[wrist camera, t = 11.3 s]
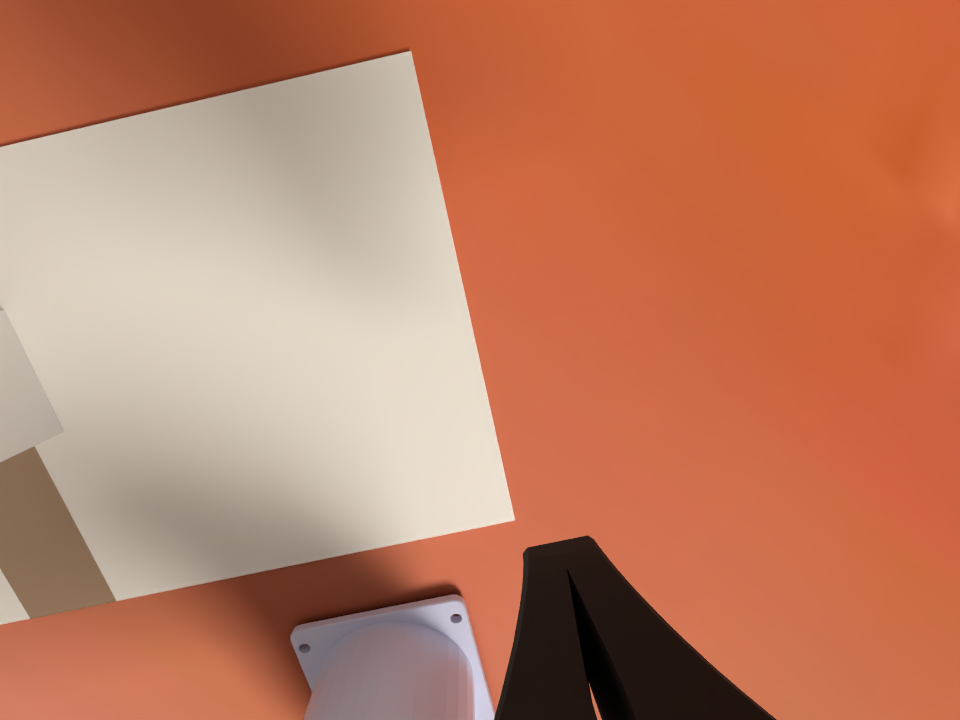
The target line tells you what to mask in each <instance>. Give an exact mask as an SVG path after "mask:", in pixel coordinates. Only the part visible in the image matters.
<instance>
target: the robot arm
mask: <svg viewBox="0 0 960 720" xmlns="http://www.w3.org/2000/svg"><path fill="white" fill-rule="evenodd" d="M523 561H524V567H523V585H522V594H521V602H520V609H519V614H518V620H517V625H516V631H515V637H514V642H513V647H512V652H511V656H510V660H509V664H508V668H507V672H506V676H505V680H504V684H503V688H502V692H501V696H500V700H499V704H498V707H497V711H496V714H495V711H494V707H493V704H492V700H491V696H490V693H489V689H488V685H487V682H486V678H485V674H484V671H483V667H482V663H481V659H480V656H479V652H478V648H477V645H476V641H475V637H474V634H473V630H472V626H471V623H470V619H469V615H468V612H467V608H466V604H465V601H464V599H463V598H462V597H461V596H459V595H456V594H455V595H447V596H442V597H437V598H432V599H427V600H422V601H417V602H412V603H407V604H402V605H397V606H392V607H387V608H381V609H376V610H371V611H366V612H361V613H356V614H351V615H346V616H341V617H336V618H331V619H326V620H321V621H316V622H311V623H306V624H301V625H298V626H296V627H295V628H294V629H293V632H292V634H291V637H290V640H291V643H292V645H293V648H294V650H295V653H296V655H297V658H298V660H299V662H300V665H301V667H302V670H303V672H304V674H305V677H306V679H307V682H308V684H309V687H310V689H311V691H312V695H311V698H310V700H309V703H308V706H307V709H306V712H305V715H304V718H303V720H597V717H596V714H595V710H594V707H593V703H592V698H591V693H590V687H591V690H592V692H593V695H594V698H595V701H596V704H597V707H598V710H599V712H600V715H601V718H602V720H776V719H775V718H774V717H773V716H771V715H770V714H769V713H768V712H767V711H765V710H764V709H763V708H762V707H760V706H759V705H758V704H757V703H756V702H754V701H753V700H752V699H751V698H750V697H748V696H747V695H746V694H745V693H744V692H742V691H741V690H740V689H739V688H738V687H736V686H735V685H734V684H733V683H732V682H731V681H730V680H728V679H727V678H726V677H725V676H724V675H723V674H722V673H720V672H719V671H718V670H717V669H716V668H715V667H714V666H713V665H711V664H710V663H709V662H708V661H707V660H706V659H705V658H704V657H703V656H702V655H701V654H699V653H698V652H697V651H696V650H695V649H694V648H693V647H692V646H691V645H690V644H689V643H688V642H687V641H685V640H684V639H683V638H682V637H681V636H680V635H679V634H678V633H677V632H676V631H675V630H674V629H673V628H672V627H671V626H670V625H669V624H668V623H667V622H666V621H665V620H664V619H663V618H662V617H661V616H660V615H659V614H658V613H657V612H656V611H655V610H654V609H653V608H652V607H651V606H650V605H649V604H648V603H647V601H646V600H645V599H644V598H643V597H642V596H641V595H640V594H639V593H638V592H637V591H636V590H635V589H634V588H633V587H632V586H631V584H630V583H629V582H628V581H627V580H626V579H625V578H624V576H623V575H622V574H621V573H620V572H619V571H618V570H617V568H616V567H615V566H614V565H613V564H612V562H611V561H610V560H609V559H608V557H607V556H606V555H605V554H604V552H603V551H602V550H601V548H600V547H599V546H598V544H597V543H596V542H595V540H594V539H592V538H591V537H589V536H583V537H578V538H573V539H568V540H563V541H558V542H553V543H548V544H543V545H538V546H533V547H528V548H527V549H526V550H525V552H524V553H523ZM453 614H459V616H453ZM305 644H307V645H305ZM588 681H589V682H588ZM589 684H590V687H589Z"/></svg>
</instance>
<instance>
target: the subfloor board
mask: <svg viewBox="0 0 960 720" xmlns="http://www.w3.org/2000/svg"><path fill="white" fill-rule="evenodd" d="M0 310H5V312H6V314H7V317H8V319H9V321H10V323H11V325H12V327H13V329H14V331H15V333H16V335H17V337H18V339H19V341H20V343H21V345H22V347H23V349H24V351H25V353H26V355H27V357H28V359H29V361H30V363H31V366H32V368H33V370H34V372H35V374H36V376H37V378H38V380H39V382H40V384H41V386H42V388H43V390H44V392H45V394H46V396H47V398H48V400H49V402H50V404H51V406H52V408H53V410H54V412H55V415H56V417H57V419H58V421H59V423H60V425H61V427H62V429H63V431H64V432H63V433H61V434H58V435H56V436H54V437H52V438H50V439H48V440H46V441H44V442H42V443H40V444H38V445H35V446H33V447H31V448H29V449H27V450H25V451H23V452H21V453H19V454H17V455H15V456H12V457H10V458H8V459H6V460H4V461H2V462H0V625H1V624H6V623H11V622H16V621H21V620H26V619H32V618H37V617H42V616H47V615H52V614H57V613H61V612H66V611H71V610H76V609H81V608H86V607H91V606H96V605H101V604H106V603H111V602H116V601H119V600H124V599H129V598H134V597H139V596H144V595H149V594H154V593H159V592H164V591H169V590H174V589H179V588H183V587H188V586H193V585H198V584H203V583H208V582H213V581H218V580H223V579H228V578H233V577H238V576H243V575H248V574H253V573H257V572H262V571H267V570H272V569H277V568H282V567H287V566H292V565H297V564H302V563H307V562H312V561H317V560H322V559H327V558H332V557H336V556H341V555H346V554H351V553H356V552H361V551H366V550H371V549H376V548H381V547H386V546H391V545H396V544H401V543H406V542H410V541H415V540H420V539H425V538H430V537H435V536H440V535H445V534H450V533H455V532H460V531H465V530H470V529H475V528H480V527H485V526H489V525H494V524H499V523H504V522H509V521H514V520H515V518H514V513H513V509H512V504H511V500H510V495H509V491H508V486H507V482H506V477H505V473H504V468H503V464H502V459H501V455H500V450H499V446H498V441H497V437H496V432H495V428H494V423H493V419H492V414H491V409H490V405H489V400H488V396H487V391H486V387H485V382H484V378H483V373H482V369H481V364H480V360H479V355H478V351H477V346H476V342H475V337H474V333H473V328H472V324H471V319H470V315H469V310H468V306H467V301H466V297H465V292H464V288H463V283H462V279H461V274H460V270H459V265H458V261H457V256H456V252H455V247H454V243H453V238H452V234H451V229H450V225H449V220H448V215H447V211H446V206H445V202H444V197H443V193H442V188H441V184H440V179H439V175H438V170H437V166H436V161H435V157H434V152H433V148H432V143H431V139H430V134H429V130H428V125H427V121H426V116H425V112H424V107H423V103H422V98H421V94H420V89H419V85H418V80H417V76H416V71H415V67H414V62H413V58H412V53H411V51H408V52H404V53H399V54H395V55H391V56H387V57H382V58H378V59H374V60H369V61H365V62H361V63H357V64H352V65H348V66H344V67H340V68H335V69H331V70H327V71H323V72H318V73H314V74H310V75H305V76H301V77H297V78H293V79H288V80H284V81H280V82H276V83H271V84H267V85H263V86H258V87H254V88H250V89H246V90H241V91H237V92H233V93H229V94H224V95H220V96H216V97H212V98H207V99H203V100H199V101H194V102H190V103H186V104H182V105H177V106H173V107H169V108H165V109H160V110H156V111H152V112H148V113H143V114H139V115H135V116H130V117H126V118H122V119H118V120H113V121H109V122H105V123H101V124H96V125H92V126H88V127H84V128H79V129H75V130H71V131H66V132H62V133H58V134H54V135H49V136H45V137H41V138H37V139H32V140H28V141H24V142H20V143H15V144H11V145H7V146H2V147H0Z"/></svg>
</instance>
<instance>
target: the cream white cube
mask: <svg viewBox="0 0 960 720" xmlns="http://www.w3.org/2000/svg"><path fill="white" fill-rule="evenodd" d="M63 432H64V431H63V429H62V427H61V425H60V423H59V421H58V419H57V417H56V415H55V412H54V410H53V408H52V406H51V404H50V402H49V400H48V398H47V396H46V394H45V392H44V390H43V388H42V386H41V384H40V382H39V380H38V378H37V376H36V374H35V372H34V370H33V368H32V366H31V363H30V361H29V359H28V357H27V355H26V353H25V351H24V349H23V347H22V345H21V343H20V341H19V339H18V337H17V335H16V333H15V331H14V329H13V327H12V325H11V323H10V321H9V319H8V317H7V314H6V312H5V310H0V462H2V461H4V460H6V459H8V458H10V457H12V456H15V455H17V454H19V453H21V452H23V451H25V450H27V449H29V448H31V447H33V446H35V445H38V444H40V443H42V442H44V441H46V440H48V439H50V438H52V437H54V436H56V435H58V434H61V433H63Z"/></svg>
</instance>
